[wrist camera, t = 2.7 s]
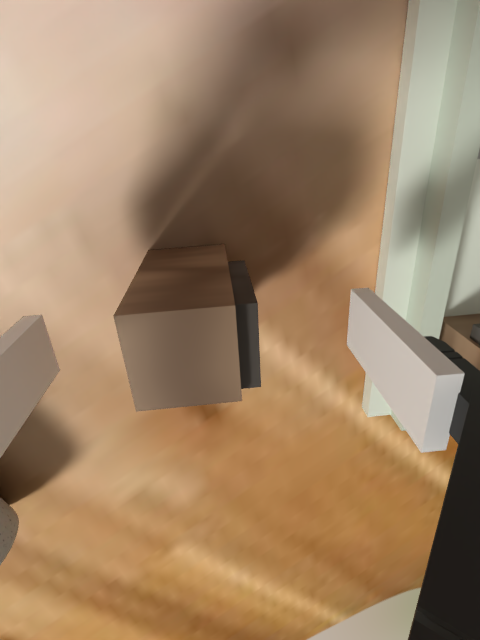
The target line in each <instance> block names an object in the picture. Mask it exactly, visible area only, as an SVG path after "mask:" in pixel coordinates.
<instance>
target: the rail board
mask: <svg viewBox="0 0 480 640" xmlns="http://www.w3.org/2000/svg"><path fill="white" fill-rule="evenodd" d="M375 294H376V295H377V296H378V297H380V298H381V299H382V300H383V301H384V302H385V303H386V304H387V305H389V306H390V307H391V308H392V309H393V310H394V311H395V312H396V313H398V314H399V315H400V316H401V317H402V318H403V319H404V320H405V321H407V322H408V323H409V324H410V325H411V326H412V327H413V328H414V329H416V330H417V331H418V332H419V333H420V334H421V335H422V336H423V337H425V336H433V337H435V338H437V339H439V337H440V332H441V327H442V323H443V318H444V317H447V316H458V315H469V314H480V0H409V2H408V11H407V19H406V28H405V37H404V45H403V54H402V63H401V71H400V80H399V89H398V98H397V106H396V115H395V124H394V132H393V141H392V150H391V158H390V167H389V176H388V184H387V193H386V202H385V211H384V219H383V228H382V237H381V245H380V254H379V263H378V271H377V280H376V289H375ZM362 408H363V410H364V412H365V413H366V415H367V417H373V416H382V415H391V416H392V418H393V419H394V421H395V422H396V423H397V425H398V426H399V428H400V429H401V431H404V430H405V428H404V427H403V425H402V424H401V423H400V421H399V420H398V418H397V417H396V415H395V414H394V412H393V411H392V409H391V408H390V407H389V405H388V404H387V402H386V401H385V399H384V398H383V396H382V395H381V394H380V392H379V391H378V389H377V388H376V386H375V385H374V383H373V382H372V381H371V379H370V378H369V376H368V375H367V373H366V376H365V384H364V393H363V402H362Z"/></svg>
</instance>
